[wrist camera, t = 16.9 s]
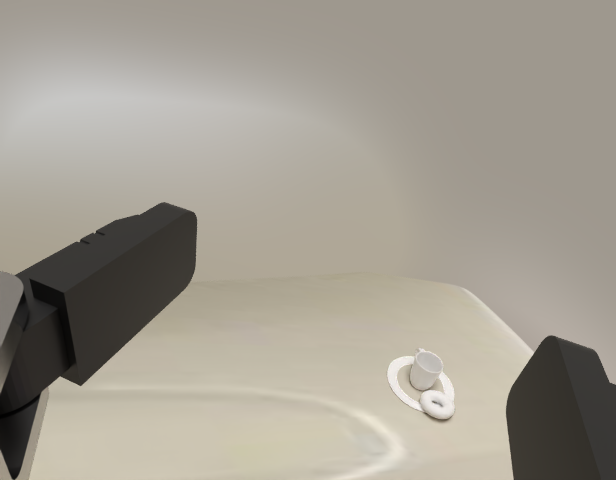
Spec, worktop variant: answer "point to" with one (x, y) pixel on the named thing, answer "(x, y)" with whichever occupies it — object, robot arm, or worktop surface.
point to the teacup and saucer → (424, 383)
